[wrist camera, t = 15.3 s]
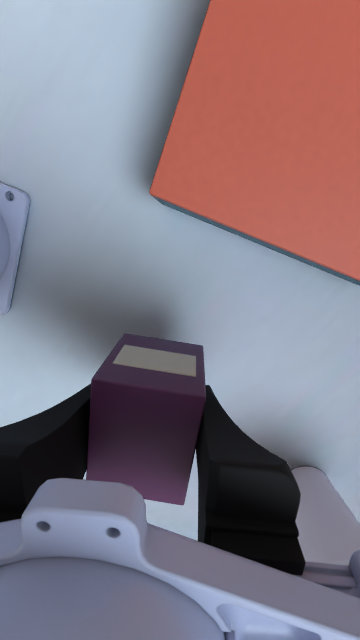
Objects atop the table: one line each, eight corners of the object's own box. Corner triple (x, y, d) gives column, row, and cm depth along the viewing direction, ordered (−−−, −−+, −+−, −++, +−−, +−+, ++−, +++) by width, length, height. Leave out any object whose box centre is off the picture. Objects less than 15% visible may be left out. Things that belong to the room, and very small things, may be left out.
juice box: (116, 417, 17) (85, 490, 12) (124, 331, 15) (90, 377, 10) (187, 429, 17) (183, 507, 12) (203, 344, 15) (206, 396, 10)
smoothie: (317, 438, 20) (550, 835, 7) (362, 491, 21) (631, 914, 8) (246, 478, 22) (325, 865, 8) (292, 525, 23) (422, 928, 10)
